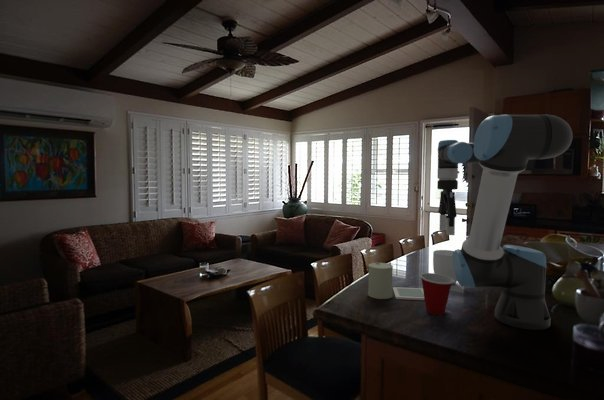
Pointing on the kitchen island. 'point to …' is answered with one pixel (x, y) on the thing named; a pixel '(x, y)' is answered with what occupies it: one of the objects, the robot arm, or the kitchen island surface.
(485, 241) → the robot arm
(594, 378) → the kitchen island surface
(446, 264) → the mug
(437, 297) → the plastic cup
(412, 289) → the square picture frame
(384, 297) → the can
